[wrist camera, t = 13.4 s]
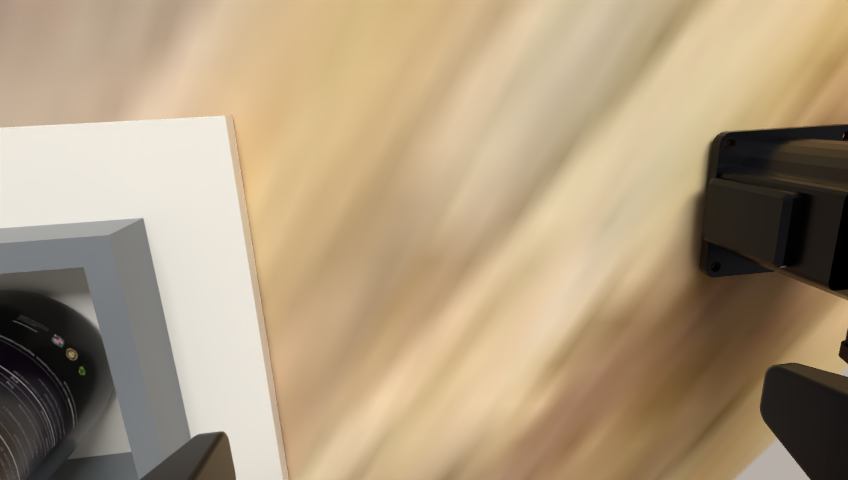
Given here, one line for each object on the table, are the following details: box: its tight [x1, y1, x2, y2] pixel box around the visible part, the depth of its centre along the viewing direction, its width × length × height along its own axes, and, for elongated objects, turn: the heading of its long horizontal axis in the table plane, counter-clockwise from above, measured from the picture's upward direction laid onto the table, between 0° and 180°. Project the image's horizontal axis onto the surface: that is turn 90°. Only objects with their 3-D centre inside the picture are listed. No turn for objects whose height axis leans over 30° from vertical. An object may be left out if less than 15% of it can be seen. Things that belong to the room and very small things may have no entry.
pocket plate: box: [0, 115, 289, 480], centre depth 18 cm, size 18×18×4 cm
